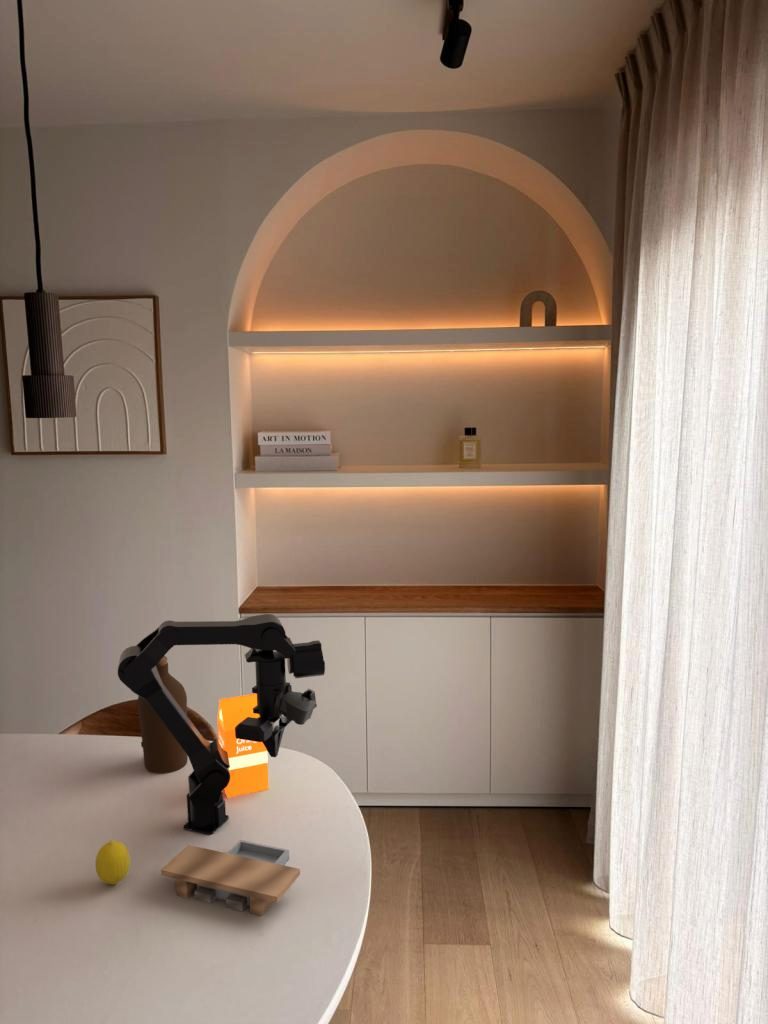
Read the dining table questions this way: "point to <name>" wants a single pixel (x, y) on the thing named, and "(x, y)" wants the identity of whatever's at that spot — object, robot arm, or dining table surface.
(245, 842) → the grey open tray
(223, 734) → the orange juice
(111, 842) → the lemon
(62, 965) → the dining table surface
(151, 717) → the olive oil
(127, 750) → the dining table surface
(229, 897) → the bridge
